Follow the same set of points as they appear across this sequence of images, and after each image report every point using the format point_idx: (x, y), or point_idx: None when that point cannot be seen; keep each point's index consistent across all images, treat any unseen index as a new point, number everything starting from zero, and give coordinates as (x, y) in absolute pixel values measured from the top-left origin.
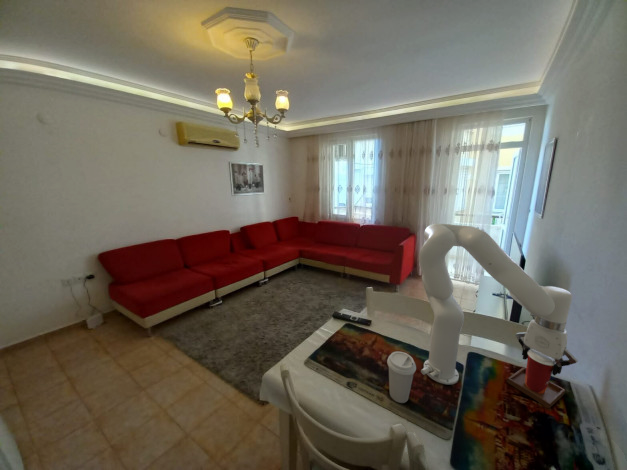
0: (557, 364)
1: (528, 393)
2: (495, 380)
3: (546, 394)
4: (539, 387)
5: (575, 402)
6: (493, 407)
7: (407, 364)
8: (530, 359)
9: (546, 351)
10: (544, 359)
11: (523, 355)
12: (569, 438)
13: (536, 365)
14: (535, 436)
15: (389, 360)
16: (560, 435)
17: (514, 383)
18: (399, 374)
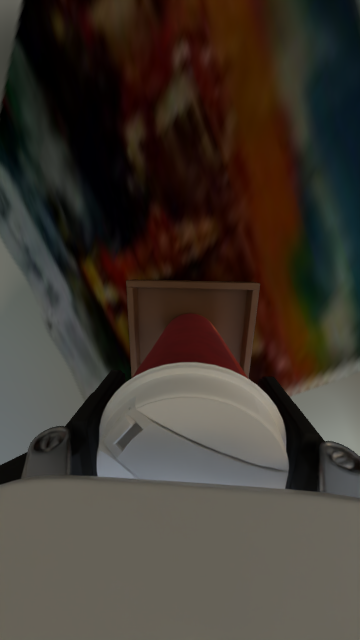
0: (66, 438)
1: (187, 281)
2: (283, 253)
3: (158, 335)
4: (170, 323)
5: None
6: (232, 75)
7: None
8: (236, 371)
9: (81, 582)
10: (146, 418)
11: (284, 392)
12: (55, 203)
13: (189, 351)
14: (97, 90)
15: None
16: (70, 188)
17: (233, 282)
18: None
